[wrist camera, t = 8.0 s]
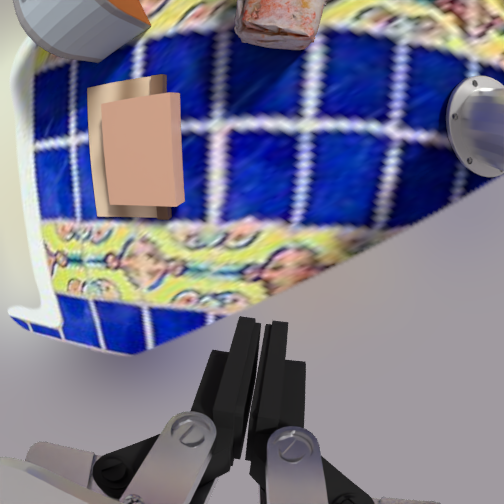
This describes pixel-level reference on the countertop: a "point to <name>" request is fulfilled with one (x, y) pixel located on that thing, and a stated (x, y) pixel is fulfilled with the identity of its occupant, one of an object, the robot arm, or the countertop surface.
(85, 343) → the countertop surface
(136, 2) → the alarm clock
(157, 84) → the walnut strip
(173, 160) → the tile
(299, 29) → the food item
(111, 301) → the countertop surface
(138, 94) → the tan flat rectangular panel
